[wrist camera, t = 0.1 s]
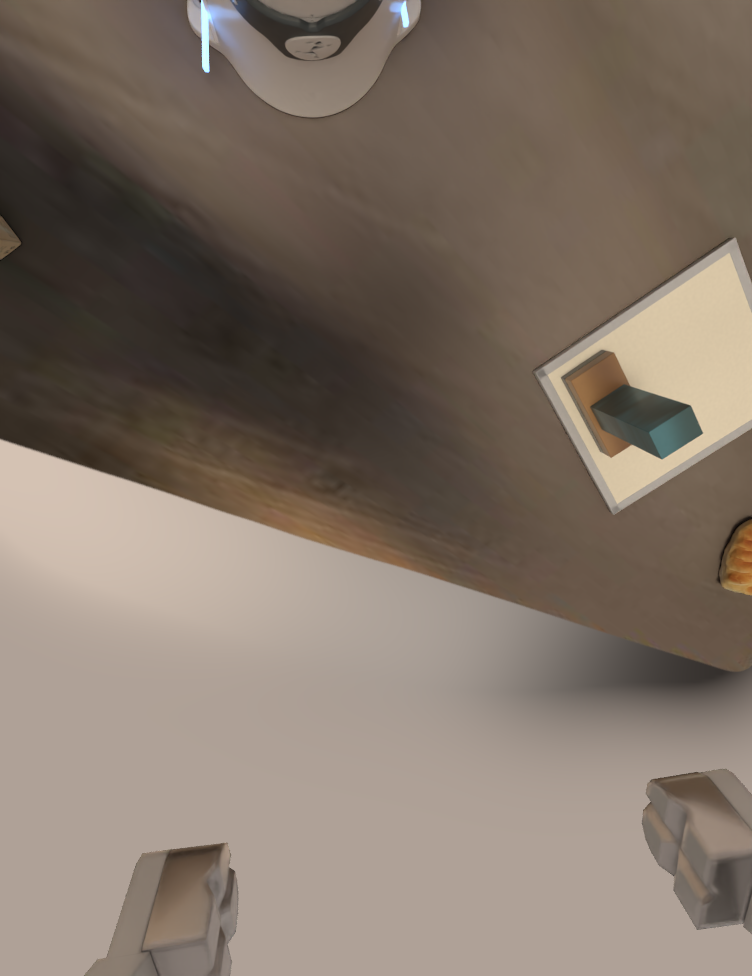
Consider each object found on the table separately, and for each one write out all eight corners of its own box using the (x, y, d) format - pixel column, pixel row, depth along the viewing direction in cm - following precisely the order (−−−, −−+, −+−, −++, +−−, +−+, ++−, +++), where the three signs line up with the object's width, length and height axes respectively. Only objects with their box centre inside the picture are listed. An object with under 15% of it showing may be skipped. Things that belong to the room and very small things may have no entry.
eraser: (599, 451, 59) (671, 493, 47) (560, 377, 56) (626, 402, 44) (639, 426, 59) (722, 462, 47) (601, 349, 55) (681, 366, 43)
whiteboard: (609, 512, 63) (613, 515, 62) (532, 371, 56) (535, 372, 56) (788, 400, 60) (794, 401, 60) (729, 238, 54) (735, 237, 53)
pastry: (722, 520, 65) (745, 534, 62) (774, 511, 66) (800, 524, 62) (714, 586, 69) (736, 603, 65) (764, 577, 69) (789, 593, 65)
